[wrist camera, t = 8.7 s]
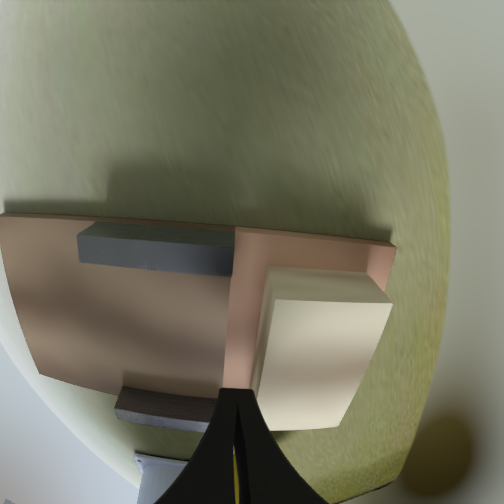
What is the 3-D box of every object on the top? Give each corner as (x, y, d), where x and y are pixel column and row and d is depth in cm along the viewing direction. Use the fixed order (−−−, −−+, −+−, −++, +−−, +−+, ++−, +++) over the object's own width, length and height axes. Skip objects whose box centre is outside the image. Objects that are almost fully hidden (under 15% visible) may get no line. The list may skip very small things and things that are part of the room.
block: (326, 391, 17) (337, 426, 14) (248, 391, 16) (250, 430, 13) (366, 272, 14) (393, 303, 11) (267, 265, 13) (275, 299, 10)
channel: (221, 409, 17) (220, 433, 15) (125, 397, 16) (118, 419, 14) (235, 231, 13) (234, 247, 11) (96, 221, 12) (76, 234, 10)
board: (334, 400, 18) (337, 408, 17) (43, 367, 16) (39, 373, 16) (390, 242, 14) (397, 247, 13) (4, 212, 12) (-4, 216, 11)
